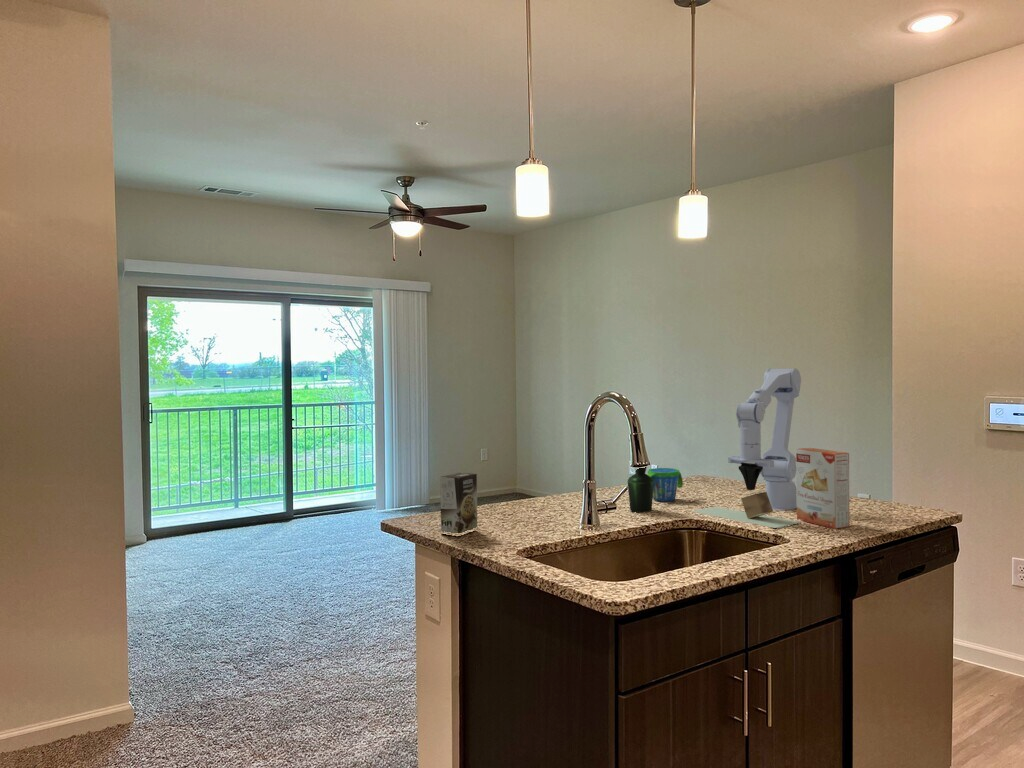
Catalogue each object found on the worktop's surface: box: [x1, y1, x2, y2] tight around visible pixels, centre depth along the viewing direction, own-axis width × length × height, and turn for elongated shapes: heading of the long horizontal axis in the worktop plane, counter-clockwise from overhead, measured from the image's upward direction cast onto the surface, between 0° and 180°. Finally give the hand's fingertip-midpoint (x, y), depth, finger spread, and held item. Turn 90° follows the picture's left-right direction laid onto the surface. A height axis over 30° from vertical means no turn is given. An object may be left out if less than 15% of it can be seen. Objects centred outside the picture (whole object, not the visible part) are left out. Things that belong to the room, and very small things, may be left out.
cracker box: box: [795, 447, 850, 530], centre depth 205 cm, size 14×6×21 cm, turn 23°
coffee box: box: [440, 472, 478, 533], centre depth 200 cm, size 9×6×16 cm
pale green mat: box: [689, 506, 802, 529], centre depth 215 cm, size 12×30×1 cm, turn 35°
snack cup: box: [647, 467, 684, 502], centre depth 245 cm, size 16×10×10 cm
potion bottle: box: [627, 462, 654, 514], centre depth 226 cm, size 8×8×18 cm
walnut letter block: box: [740, 491, 774, 518], centre depth 212 cm, size 5×6×6 cm
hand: (750, 489), depth 213 cm, fingers closed
